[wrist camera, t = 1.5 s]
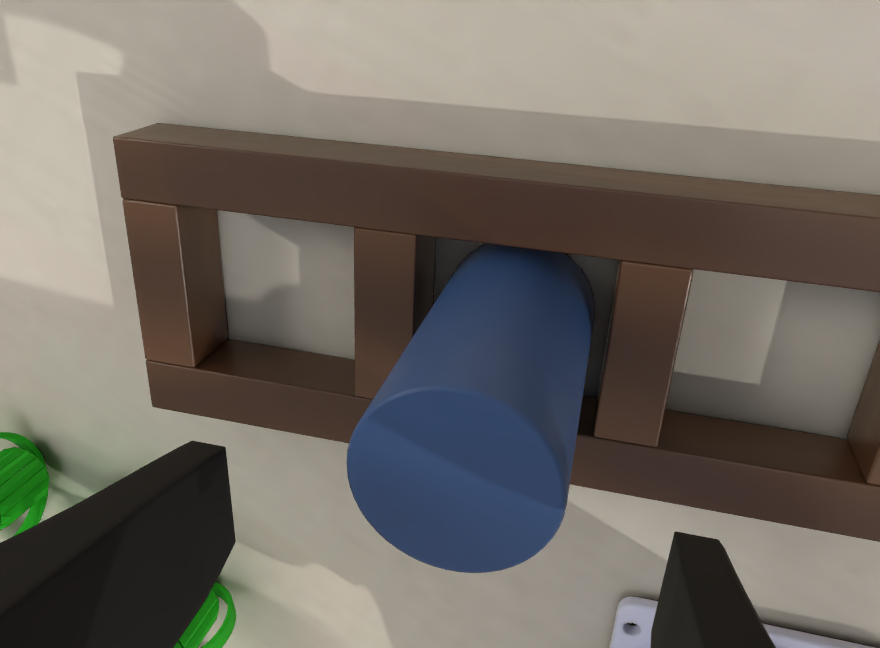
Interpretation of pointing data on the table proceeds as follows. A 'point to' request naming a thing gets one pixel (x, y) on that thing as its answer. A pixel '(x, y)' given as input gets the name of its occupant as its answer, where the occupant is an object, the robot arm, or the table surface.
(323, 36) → the table surface
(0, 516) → the chandelier
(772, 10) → the table surface
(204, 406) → the peg board
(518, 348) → the peg
